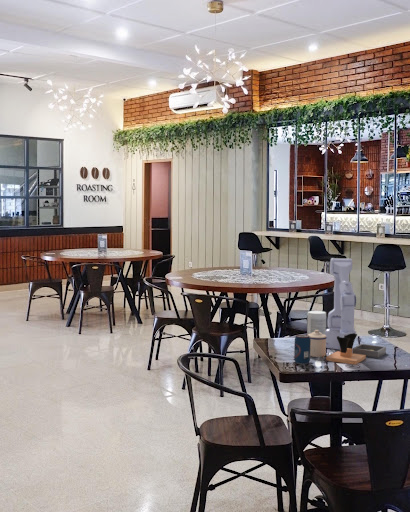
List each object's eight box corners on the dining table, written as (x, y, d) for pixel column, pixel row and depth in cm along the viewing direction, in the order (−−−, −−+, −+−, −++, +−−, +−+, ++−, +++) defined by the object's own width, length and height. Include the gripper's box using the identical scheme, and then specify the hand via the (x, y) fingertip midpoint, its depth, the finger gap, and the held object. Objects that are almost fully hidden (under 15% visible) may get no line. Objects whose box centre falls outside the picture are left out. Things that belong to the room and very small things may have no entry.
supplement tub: (329, 341, 326) (330, 312, 325) (316, 343, 321) (316, 314, 320) (316, 338, 334) (317, 310, 333) (303, 339, 329) (303, 311, 328)
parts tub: (352, 354, 297) (352, 348, 297) (360, 350, 307) (361, 343, 307) (378, 358, 290) (378, 351, 290) (385, 353, 301) (386, 347, 300)
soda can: (291, 361, 282) (291, 334, 281) (305, 360, 285) (305, 333, 284) (298, 365, 276) (299, 337, 275) (313, 363, 278) (313, 336, 277)
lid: (326, 360, 285) (326, 349, 285) (336, 354, 296) (337, 343, 296) (355, 364, 278) (356, 353, 277) (365, 358, 289) (366, 347, 289)
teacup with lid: (326, 353, 298) (327, 328, 298) (325, 358, 290) (326, 332, 289) (300, 351, 301) (301, 327, 301) (298, 356, 293) (299, 330, 292)
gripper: (350, 324, 277) (349, 355, 278) (361, 319, 290) (360, 349, 291) (335, 322, 281) (334, 353, 282) (346, 317, 293) (345, 347, 294)
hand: (346, 351), depth 287 cm, fingers open, 7 cm apart
